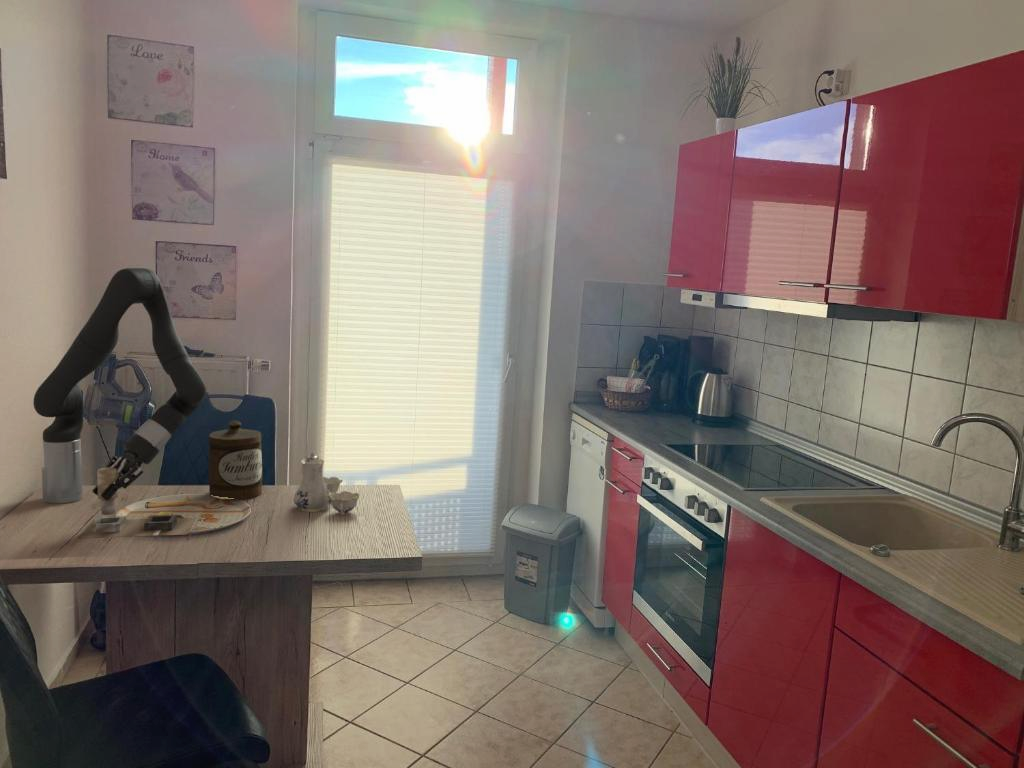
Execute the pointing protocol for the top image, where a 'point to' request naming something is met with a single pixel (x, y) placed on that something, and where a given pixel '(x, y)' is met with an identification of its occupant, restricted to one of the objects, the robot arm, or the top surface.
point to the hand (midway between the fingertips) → (99, 495)
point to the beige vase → (104, 480)
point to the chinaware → (321, 490)
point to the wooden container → (235, 463)
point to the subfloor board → (139, 526)
